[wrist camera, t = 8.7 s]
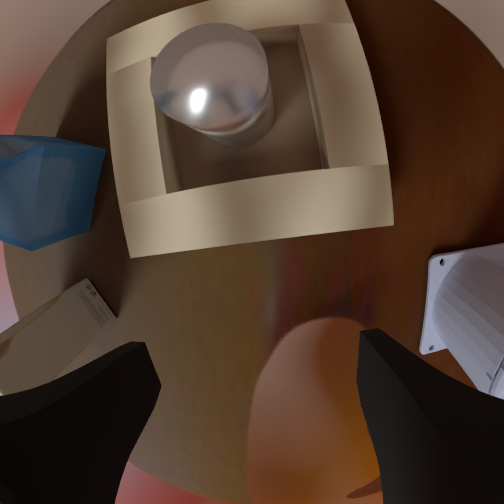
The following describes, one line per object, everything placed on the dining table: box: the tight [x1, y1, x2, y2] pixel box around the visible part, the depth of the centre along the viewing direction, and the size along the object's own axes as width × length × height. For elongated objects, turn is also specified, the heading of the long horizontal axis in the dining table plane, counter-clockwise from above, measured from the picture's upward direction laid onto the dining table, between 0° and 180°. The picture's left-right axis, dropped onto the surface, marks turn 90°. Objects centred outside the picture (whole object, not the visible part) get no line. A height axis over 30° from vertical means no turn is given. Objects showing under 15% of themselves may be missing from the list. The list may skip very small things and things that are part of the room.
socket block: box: [106, 0, 394, 258], centre depth 13 cm, size 14×14×4 cm
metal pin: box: [150, 23, 275, 148], centre depth 11 cm, size 4×4×7 cm
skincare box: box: [0, 278, 116, 396], centre depth 14 cm, size 6×4×12 cm
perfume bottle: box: [0, 135, 107, 251], centre depth 12 cm, size 6×6×12 cm
